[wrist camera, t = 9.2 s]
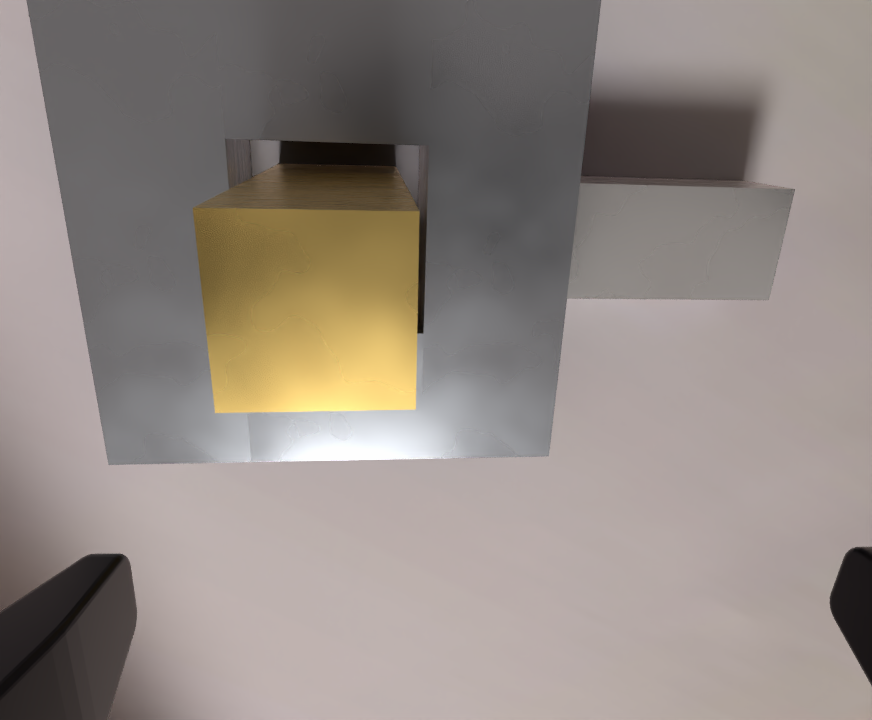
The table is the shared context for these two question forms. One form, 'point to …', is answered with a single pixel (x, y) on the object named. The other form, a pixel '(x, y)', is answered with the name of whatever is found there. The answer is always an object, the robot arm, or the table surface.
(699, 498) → the table surface
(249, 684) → the table surface
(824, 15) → the table surface
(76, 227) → the bracket
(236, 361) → the gold square pillar
